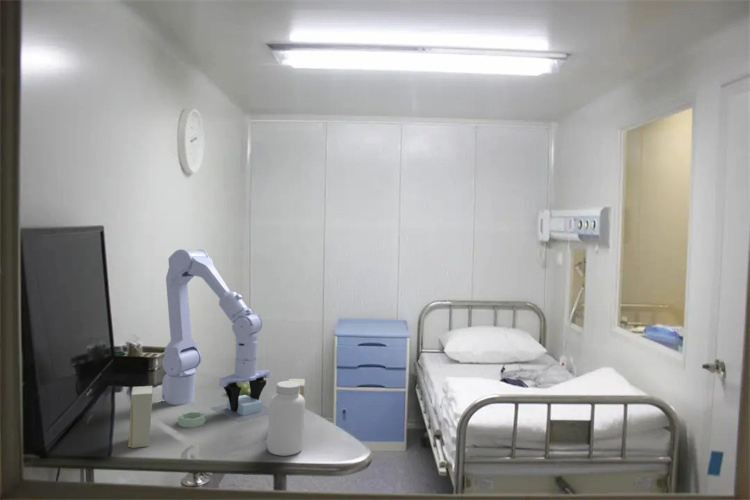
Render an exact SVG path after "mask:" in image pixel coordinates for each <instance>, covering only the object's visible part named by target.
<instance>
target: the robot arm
mask: <svg viewBox="0 0 750 500" xmlns="http://www.w3.org/2000/svg"><path fill="white" fill-rule="evenodd" d="M194 277H200V278H202V280H203V281H204V282H205V283H206V285H208V287H209V288H210V289H211V290H212V292H214V294H215V295H216V296H217V298H218V299H219V300H218V306H219V307H220V308H221V310H222V311H223V312H224V314H225V316H227V318H228V319H229V320H230V322H231V323H232V325H231V328H232V332H233V333H234V336H235V359H234V373H233V374H230V375H227V376H223V377H219V381H218V382H219V384H218V385H219V386H220V387H223V389H224V391H225V393H226V396H227V399H229V402H230V407H231V410H232V411H234V412H236V411H237V409H238V399H239V394H240V390H241V387H238V385H237V383H242V382H247V383H248V384H249V385H250V397H252V398H254V399H257V400H259V401H260V397H261V394H262V392H263V389H264V388H265V386H266V385H267V380H266V379H270V373H271V372H270V370H267V369H262V370H257V367H258V365H257V364H258V363H257V362H258V343H259V342H258V341H259V332H260V331H261V330H262V327H263V320H262V318H261V316H260V314H258V313H256V312H253V311H252V309H251V308H249V307H248V305H247V304H246V303H245V301H244V300H243V295H241V294H240V293H238V292H237V291H231V290H230V289H229V287H228V286H227V284H226V283H225V281H224V280H223V278H222V277H221V275H220V274H219V272H218V270H217V268H216V267H215V265H214V263H213V259H212V258H211V257H209V254H208V253H207V252H206V251H205V250H203V249H195V250H193V249H192V250H191V249H177V250H175V251H174V252H173V253H172V254H171V255H170V256H169V258H168V269H167V273H166V277H165V282H166V283H165V285H166V295H167V296H166V297H167V308H168V322H169V334H170V341H169V342H168V344H166V346H165V348H164V351H163V352H164V354H163V355H164V356H163V358H162V367H163V370H164V372H165V374H164V376H163V378H162V382H161V383H162V385H161V400H162V399H163V400H164V401H166V403H167V404H169V405H172V406H173V405H174V406H181V405H187V404H191V403H193V402H194V401H195V392H196V390H195V387H196V372H197V368H198V367H199V366H200V364H201V362H202V354H201V352H200V350H199V347H198V342H197V341H196V340H195V339H194V338H192V327H191V317H190V316H191V315H190V303H189V289H188V283H189V282H190V281H191V280H192V279H193V278H194Z"/></svg>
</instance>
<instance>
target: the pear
mask: <svg viewBox="0 0 750 500" xmlns="http://www.w3.org/2000/svg"><path fill="white" fill-rule="evenodd" d="M237 385H238V387H241V390H240V394H239V396H242V395H247V396H249V397H250V384H249V382H248V381H247V382H242V383H237Z"/></svg>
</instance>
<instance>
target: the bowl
mask: <svg viewBox="0 0 750 500" xmlns="http://www.w3.org/2000/svg"><path fill="white" fill-rule="evenodd" d="M206 418H207V414H206V413H205V412H203V411H194V410H191V411H187V412H186V411H185V412H183V413H180V415H179V416H178V417H177V425H178V426H180V427H182V428H196V427H200V426H203V425H204V424H205V423H206V422H207V421H206V420H207V419H206Z"/></svg>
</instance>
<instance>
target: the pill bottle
mask: <svg viewBox="0 0 750 500" xmlns="http://www.w3.org/2000/svg"><path fill="white" fill-rule="evenodd" d="M275 389H276V391H275V392H276V394H274V395H273V396H272V397H271V398H270V401H269V408H270V409H269V414H268V430H267V431H268V432H267V451H268V452H269V453H270V454H272V455H275V456H280V457H281V456H283V457H285V456H286V457H287V456H293V455H296V454H298V453H301V451H302V449H303V446H304V444H303V443H304V432H305V429H304V428H305V426H304V425H305V412H306V411H305V409H306V400H305V397H303V396H302V395H300V394H299V393H300V384H299V383H298V382H295V381H288V380H284V381H279V382H277V384H276V388H275Z"/></svg>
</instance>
